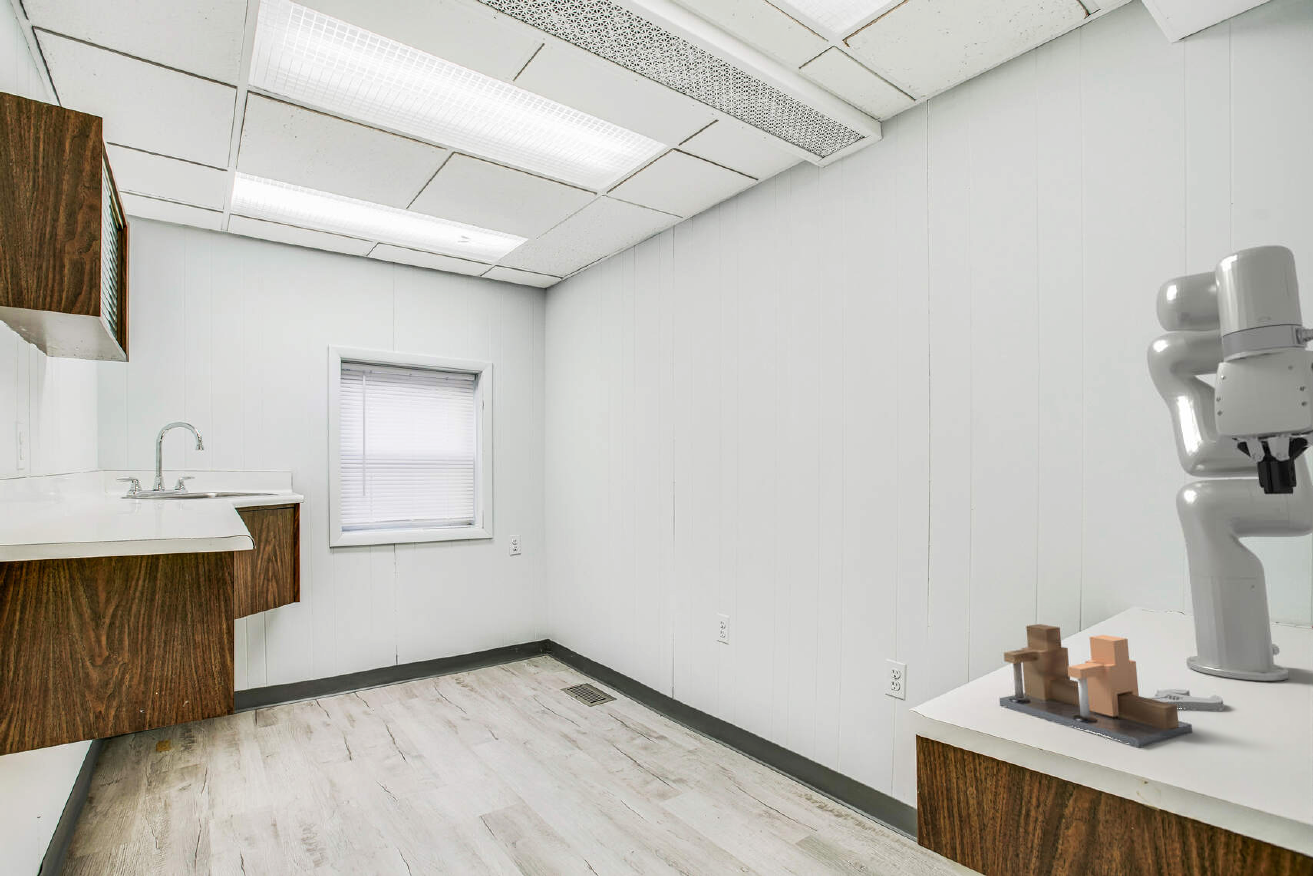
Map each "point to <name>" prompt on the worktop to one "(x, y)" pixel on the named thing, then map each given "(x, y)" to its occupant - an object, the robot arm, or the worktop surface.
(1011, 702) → the flange plate
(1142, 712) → the trammel bar
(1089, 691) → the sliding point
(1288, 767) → the worktop surface
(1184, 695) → the adjustable wrench
